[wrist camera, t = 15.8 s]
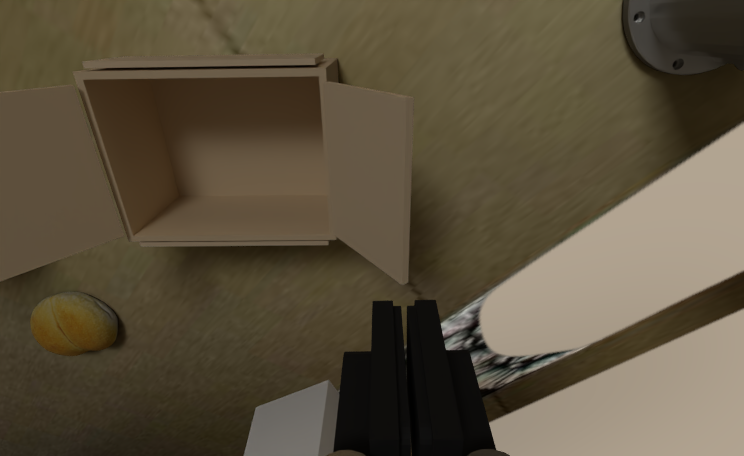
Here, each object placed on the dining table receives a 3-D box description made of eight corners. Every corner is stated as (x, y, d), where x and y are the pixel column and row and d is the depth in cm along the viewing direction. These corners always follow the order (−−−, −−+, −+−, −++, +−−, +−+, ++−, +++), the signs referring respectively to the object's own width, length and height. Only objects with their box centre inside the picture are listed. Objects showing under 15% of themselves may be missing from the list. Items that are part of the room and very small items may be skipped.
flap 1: (73, 85, 27) (-115, 105, 21) (124, 236, 32) (-15, 287, 26) (70, 84, 27) (-117, 103, 21) (121, 234, 32) (-17, 284, 26)
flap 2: (329, 81, 27) (413, 97, 20) (338, 232, 32) (408, 282, 26) (323, 82, 26) (406, 98, 20) (333, 234, 32) (402, 285, 25)
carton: (337, 50, 34) (325, 58, 26) (344, 203, 41) (336, 247, 33) (140, 53, 35) (69, 62, 27) (179, 205, 41) (131, 249, 33)
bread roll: (134, 335, 49) (115, 359, 46) (70, 347, 50) (47, 372, 47) (98, 281, 46) (74, 302, 42) (30, 296, 47) (1, 318, 43)
